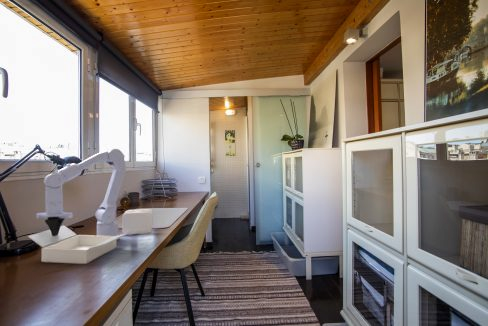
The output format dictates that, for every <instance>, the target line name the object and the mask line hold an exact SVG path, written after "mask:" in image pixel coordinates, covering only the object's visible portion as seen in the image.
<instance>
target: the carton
mask: <svg viewBox="0 0 488 326" xmlns="http://www.w3.org/2000/svg"><path fill="white" fill-rule="evenodd" d="M112 237H115V236H97V234H96V235H93V234H92V235H91V234H90V235H89V234H78V235H75V236H72V237H70V238H67V239H64V240H61V241H59V242H56V243H53V244H50V245H48V246H45V247H41V260H40V261H41V263H58V264H59V263H60V264H63V263H64V264H79V265H81V264H82V265H83V264H84V265H86V264H89V263H90V262H93V261H95V260H96V259H98V258H100V257H103V256H104V255H105V254H107V253H109V252H111V251H113V250H114V249H117V240H114V241H112V242H110V243H108V244H106V245H103V246H99V247H96V248H92V249H89V248H91V247H93V246H95V245H97V244H99V243H102V242H104V241H106V240H108V239H110V238H112Z"/></svg>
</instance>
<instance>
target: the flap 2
mask: <svg viewBox="0 0 488 326" xmlns="http://www.w3.org/2000/svg"><path fill="white" fill-rule="evenodd" d="M129 233H131V232H127V233H121V234H118V235H117V236H115V237H112V238H110V239H108V240H106V241H104V242H102V243H99V244H97V245H95V246H93V247H91V248H89V249H92V248H96V247H99V246H103V245H106V244H108V243H110V242H112V241H114V240H116V241H118V240H120V239H121V238H123V237H124V236H127V234H129ZM119 238H120V239H119ZM117 239H118V240H117Z"/></svg>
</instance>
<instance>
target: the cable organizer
mask: <svg viewBox="0 0 488 326" xmlns="http://www.w3.org/2000/svg"><path fill="white" fill-rule="evenodd" d="M121 218H122V220H121V221H122V228H121V229H122V231H121V232H122V234H124V233H127V232H131V233H129V234H127V235H128V236H133V235H136V234H137V235H139V234H140V235H147V234H148V233H150V232H151V231H152V229H153V225H154V211H153V209H150V208H149V209H147V208H146V209H144V208H143V209H128V210H125V211H124V213H123V214H122V217H121ZM127 235H126V236H127Z"/></svg>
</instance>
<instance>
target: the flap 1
mask: <svg viewBox="0 0 488 326" xmlns="http://www.w3.org/2000/svg"><path fill="white" fill-rule="evenodd" d="M74 236H77V233H75V232H74V231H72V230H71V229H70V228H68V227H67V226H65V225H61V226H60V229H59V233H58V235H56V236H52V233H51V230H50V229H47V230H44V231H41V232H40V231H39V232H37V233H33V234H30V235H27V237H28V238H29V239H30V240H32V241H33V242H34V243H36V244H37V245H39V246H40V247H41V248H44V247H47V246H50V245H52V244H55V243H58V242H60V241H63V240H66V239H69V238H71V237H74Z"/></svg>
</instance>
